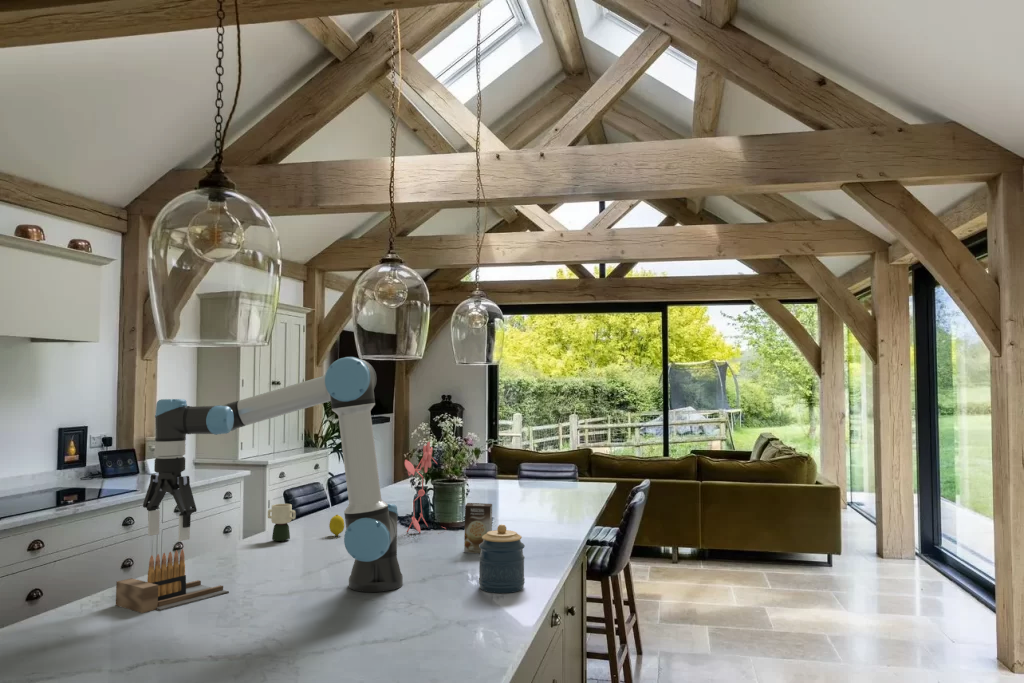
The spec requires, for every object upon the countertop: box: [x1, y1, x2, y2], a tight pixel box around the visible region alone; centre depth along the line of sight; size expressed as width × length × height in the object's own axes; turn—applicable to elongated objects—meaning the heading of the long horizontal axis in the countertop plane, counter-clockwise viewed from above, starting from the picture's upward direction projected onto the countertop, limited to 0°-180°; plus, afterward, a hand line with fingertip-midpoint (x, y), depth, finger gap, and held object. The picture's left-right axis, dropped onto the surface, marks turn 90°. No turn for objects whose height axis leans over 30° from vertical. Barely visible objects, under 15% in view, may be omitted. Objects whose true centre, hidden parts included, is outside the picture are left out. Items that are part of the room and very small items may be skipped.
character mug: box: [267, 503, 297, 542], centre depth 275 cm, size 11×7×13 cm, turn 80°
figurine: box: [404, 441, 447, 535], centre depth 296 cm, size 15×26×35 cm, turn 168°
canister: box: [478, 523, 526, 594], centre depth 212 cm, size 13×13×18 cm
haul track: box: [115, 577, 229, 614], centre depth 200 cm, size 16×24×6 cm
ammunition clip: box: [146, 549, 187, 601], centre depth 198 cm, size 11×2×12 cm, turn 148°
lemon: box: [328, 514, 345, 537], centre depth 285 cm, size 6×6×8 cm
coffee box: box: [463, 502, 493, 554], centre depth 259 cm, size 9×6×16 cm
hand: (168, 537), depth 199 cm, fingers open, 13 cm apart
